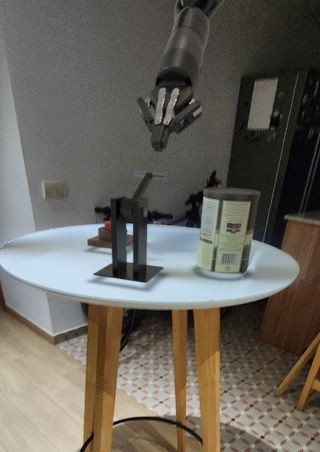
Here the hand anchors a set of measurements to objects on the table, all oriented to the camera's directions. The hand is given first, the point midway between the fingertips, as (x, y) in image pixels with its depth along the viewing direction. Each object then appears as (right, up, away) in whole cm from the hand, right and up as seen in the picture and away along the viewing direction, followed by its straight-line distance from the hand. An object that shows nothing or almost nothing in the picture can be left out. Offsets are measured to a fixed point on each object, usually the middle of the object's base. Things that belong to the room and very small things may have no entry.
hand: (157, 147), depth 67 cm
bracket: (-5, -23, +1) cm, 24 cm away
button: (-10, -7, +16) cm, 21 cm away
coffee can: (+13, -20, +7) cm, 25 cm away
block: (-11, -10, +18) cm, 24 cm away
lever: (-3, -11, -2) cm, 11 cm away
